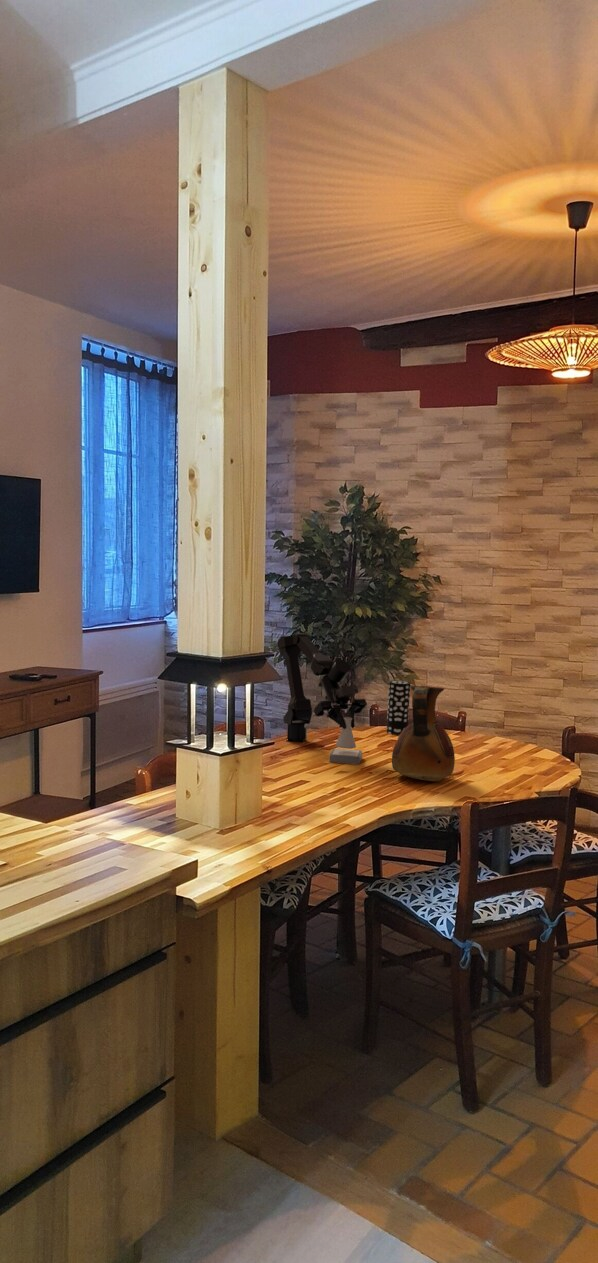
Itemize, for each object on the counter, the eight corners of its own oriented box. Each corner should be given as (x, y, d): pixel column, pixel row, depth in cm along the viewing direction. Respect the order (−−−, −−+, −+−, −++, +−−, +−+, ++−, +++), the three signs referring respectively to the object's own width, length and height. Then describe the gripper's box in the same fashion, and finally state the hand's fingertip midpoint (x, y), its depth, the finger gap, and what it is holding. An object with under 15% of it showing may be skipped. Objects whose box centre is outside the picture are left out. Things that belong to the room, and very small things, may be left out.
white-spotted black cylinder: (396, 729, 370) (399, 680, 368) (412, 733, 364) (414, 683, 362) (382, 731, 365) (384, 681, 363) (397, 735, 358) (400, 684, 357)
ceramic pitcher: (456, 775, 300) (462, 683, 297) (449, 790, 280) (455, 692, 278) (396, 768, 305) (401, 678, 302) (385, 782, 286) (391, 686, 283)
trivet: (329, 762, 309) (329, 754, 309) (332, 755, 319) (333, 747, 319) (359, 764, 308) (359, 756, 308) (361, 757, 318) (362, 750, 318)
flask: (351, 750, 309) (354, 720, 308) (331, 747, 312) (333, 717, 311) (359, 746, 315) (361, 717, 314) (339, 743, 318) (341, 714, 317)
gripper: (320, 677, 310) (336, 716, 301) (365, 675, 319) (382, 712, 311) (306, 696, 317) (322, 734, 309) (351, 693, 327) (367, 731, 319)
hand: (349, 727), depth 312 cm, fingers closed on flask, 3 cm apart
